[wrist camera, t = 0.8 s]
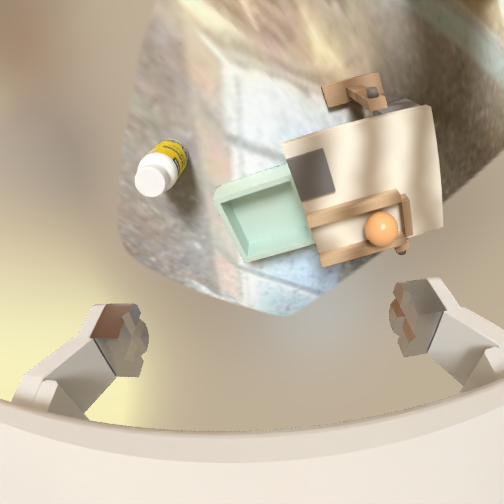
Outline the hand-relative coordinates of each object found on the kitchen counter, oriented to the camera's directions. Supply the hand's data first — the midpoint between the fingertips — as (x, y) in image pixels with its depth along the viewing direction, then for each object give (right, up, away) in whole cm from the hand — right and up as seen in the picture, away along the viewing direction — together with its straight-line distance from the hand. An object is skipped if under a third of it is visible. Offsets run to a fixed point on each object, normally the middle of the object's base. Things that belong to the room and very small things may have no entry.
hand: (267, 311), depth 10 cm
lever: (+14, +13, +29) cm, 35 cm away
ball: (+14, +4, +24) cm, 29 cm away
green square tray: (+2, +9, +39) cm, 40 cm away
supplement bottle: (-12, +16, +34) cm, 40 cm away
